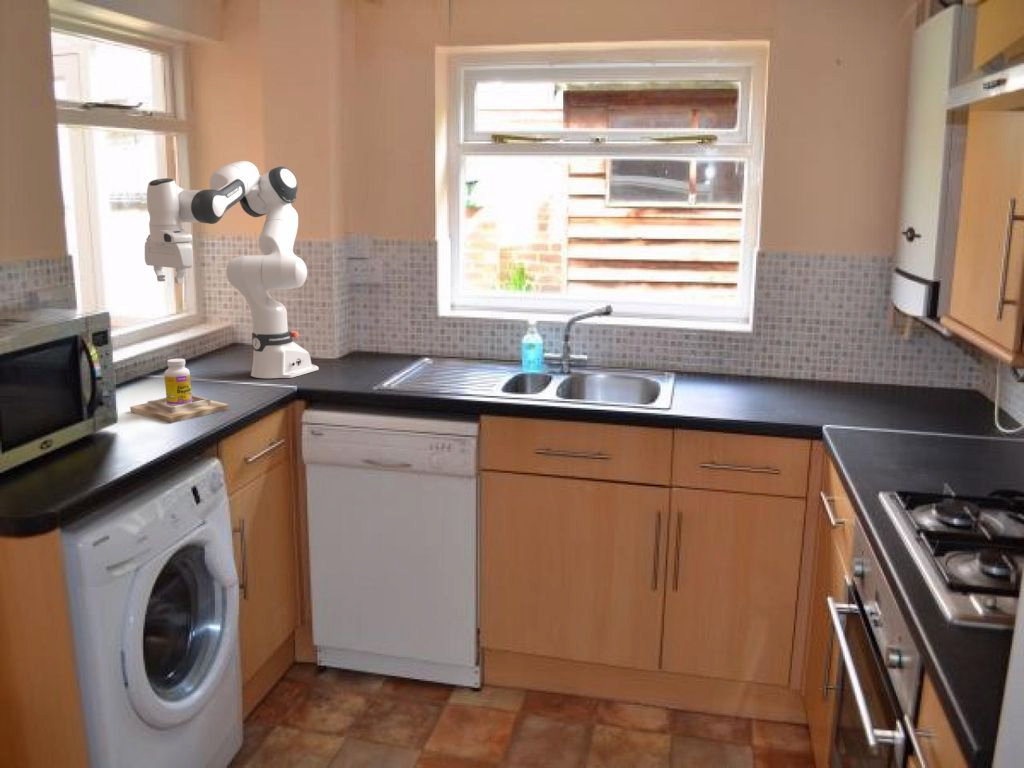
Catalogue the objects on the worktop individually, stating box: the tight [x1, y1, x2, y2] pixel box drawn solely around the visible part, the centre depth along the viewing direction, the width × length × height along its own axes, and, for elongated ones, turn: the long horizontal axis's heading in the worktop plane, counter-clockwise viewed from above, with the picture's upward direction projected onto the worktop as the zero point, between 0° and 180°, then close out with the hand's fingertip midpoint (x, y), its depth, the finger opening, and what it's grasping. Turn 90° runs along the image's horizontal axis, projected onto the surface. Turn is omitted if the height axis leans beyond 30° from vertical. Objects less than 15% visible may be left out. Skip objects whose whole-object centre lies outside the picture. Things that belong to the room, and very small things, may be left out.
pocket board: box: [129, 394, 230, 424], centre depth 257 cm, size 18×20×3 cm
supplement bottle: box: [164, 358, 192, 406], centre depth 256 cm, size 7×7×13 cm
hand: (170, 282), depth 274 cm, fingers open, 8 cm apart
